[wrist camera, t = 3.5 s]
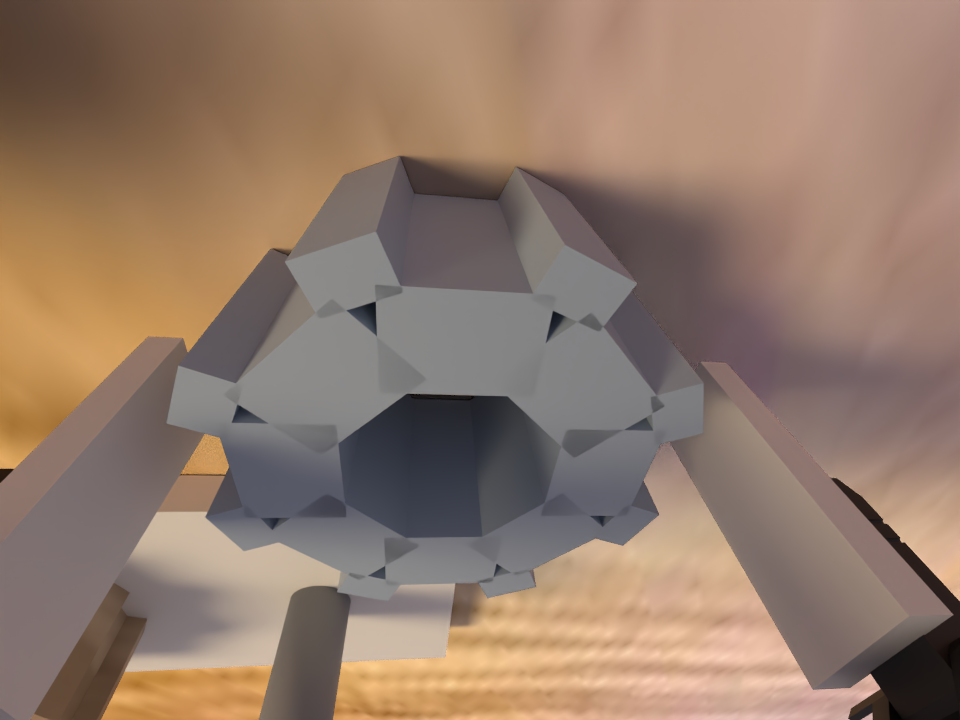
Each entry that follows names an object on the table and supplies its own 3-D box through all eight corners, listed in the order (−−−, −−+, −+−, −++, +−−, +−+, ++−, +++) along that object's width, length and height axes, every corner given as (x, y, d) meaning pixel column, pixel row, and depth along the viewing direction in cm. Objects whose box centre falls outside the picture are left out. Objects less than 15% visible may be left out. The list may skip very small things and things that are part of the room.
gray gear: (226, 140, 10) (79, 210, 6) (664, 180, 11) (796, 261, 7) (291, 459, 16) (241, 605, 12) (573, 462, 17) (616, 594, 13)
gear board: (-226, 473, 14) (-846, 880, 7) (463, 476, 17) (481, 776, 10) (-21, 642, 21) (-243, 935, 14) (445, 626, 24) (448, 864, 17)
